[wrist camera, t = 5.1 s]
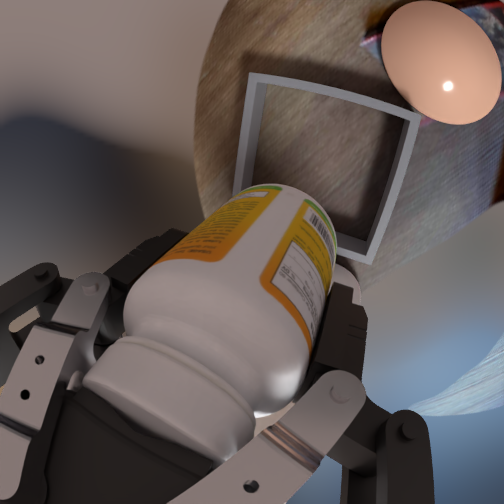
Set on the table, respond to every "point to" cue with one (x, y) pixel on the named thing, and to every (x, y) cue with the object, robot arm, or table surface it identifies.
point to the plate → (441, 62)
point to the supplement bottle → (223, 324)
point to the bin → (258, 86)
